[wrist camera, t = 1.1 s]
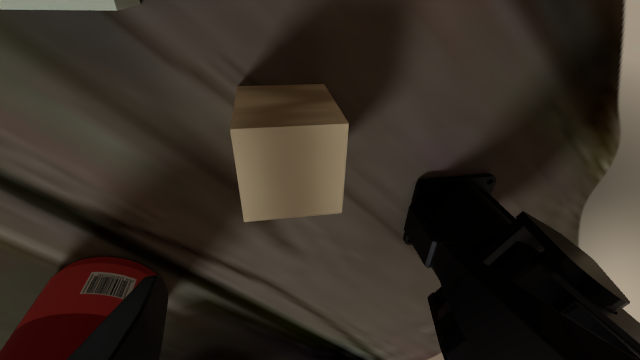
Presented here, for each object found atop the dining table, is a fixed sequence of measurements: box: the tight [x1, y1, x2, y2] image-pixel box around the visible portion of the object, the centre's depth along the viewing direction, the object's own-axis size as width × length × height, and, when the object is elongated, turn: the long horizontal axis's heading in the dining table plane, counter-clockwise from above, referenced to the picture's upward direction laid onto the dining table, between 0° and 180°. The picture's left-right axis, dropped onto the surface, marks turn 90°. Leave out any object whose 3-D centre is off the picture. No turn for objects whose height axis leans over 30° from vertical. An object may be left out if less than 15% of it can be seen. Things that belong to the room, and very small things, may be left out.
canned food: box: [0, 257, 157, 360], centre depth 20 cm, size 8×8×11 cm
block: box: [230, 84, 349, 222], centre depth 17 cm, size 5×5×6 cm
